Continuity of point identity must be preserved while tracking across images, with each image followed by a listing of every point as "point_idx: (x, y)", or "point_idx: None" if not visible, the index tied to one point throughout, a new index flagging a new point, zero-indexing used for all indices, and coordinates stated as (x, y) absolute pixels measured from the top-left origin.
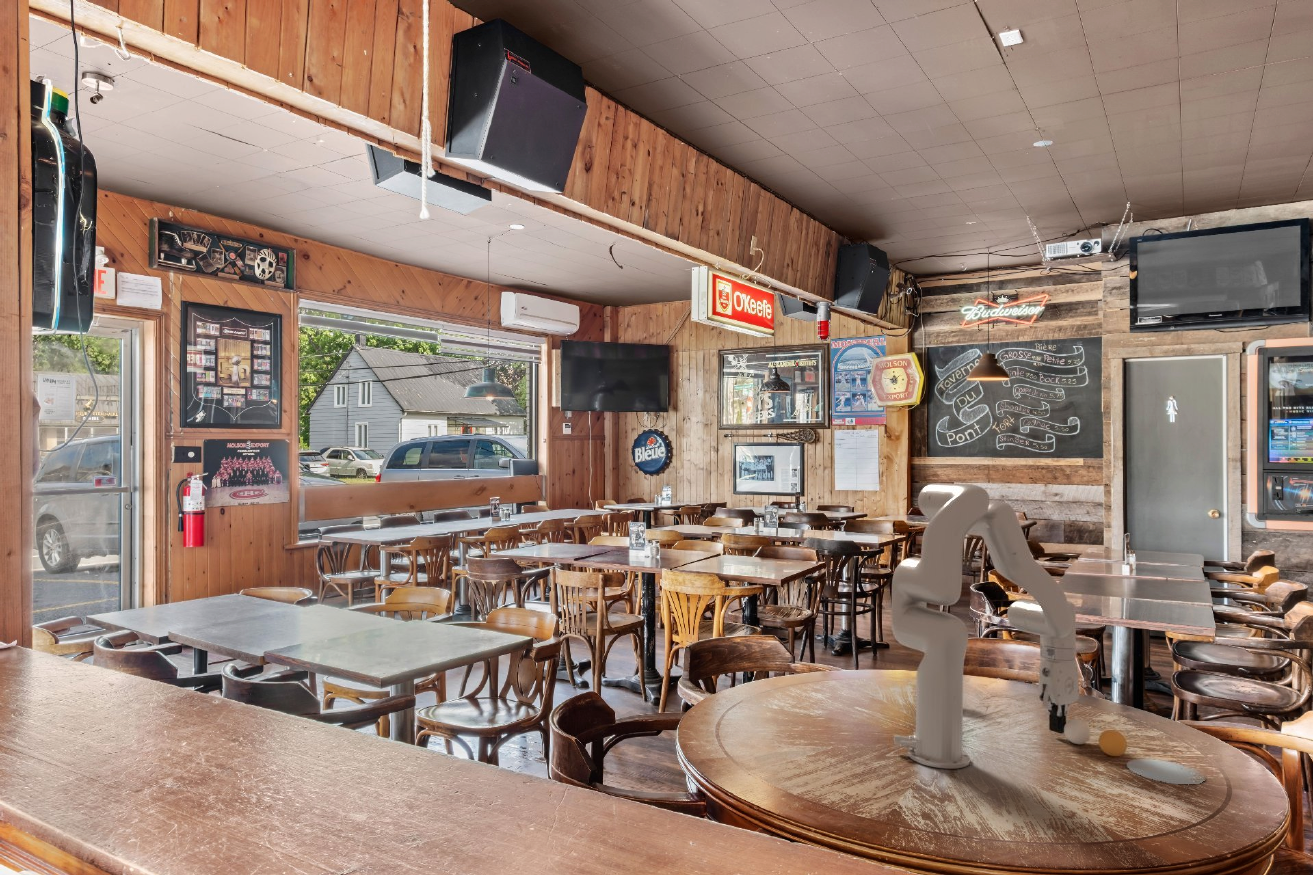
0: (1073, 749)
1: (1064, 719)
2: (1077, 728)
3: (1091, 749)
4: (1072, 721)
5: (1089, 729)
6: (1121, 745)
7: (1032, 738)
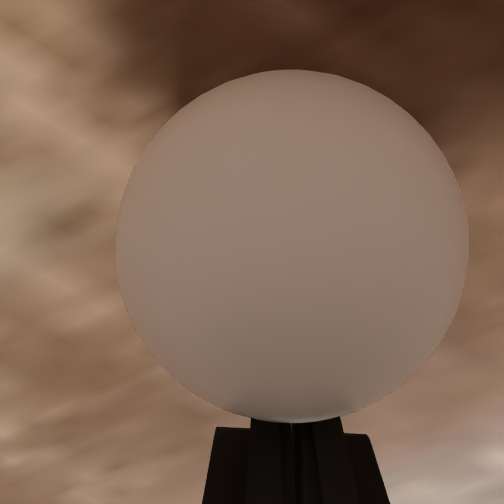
0: (499, 143)
1: (279, 482)
2: (455, 192)
3: (340, 29)
4: (401, 340)
5: (234, 89)
6: None
7: (473, 484)
